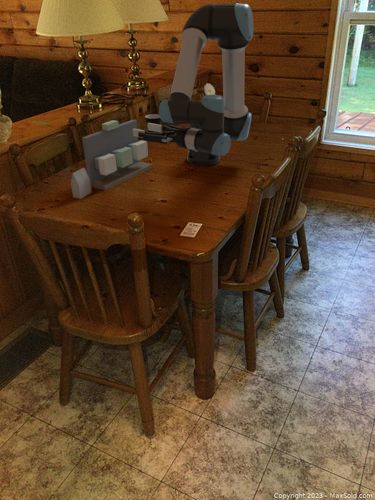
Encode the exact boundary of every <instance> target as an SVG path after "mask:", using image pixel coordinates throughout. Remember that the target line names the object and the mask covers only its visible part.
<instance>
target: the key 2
mask: <svg viewBox="0 0 375 500" xmlns="http://www.w3.org/2000/svg"><path fill="white" fill-rule="evenodd" d="M127 147H130V148H132V155H133V159H134V160H140V161H141V160H142V159H145V158H147V157H149V151H148V148H149V147H148V141H144V139H143V140H138V142H136V143H135V142H131V143H129V144H127Z"/></svg>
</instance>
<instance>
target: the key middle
mask: <svg viewBox="0 0 375 500" xmlns="http://www.w3.org/2000/svg"><path fill="white" fill-rule="evenodd" d="M111 154H114V155H115V157H116V162H117V166H118V167H122V168H123V167H125V166H128V165H130V164H132V163H133V156H132V148H130V147H124V148H122V149H118V148H117V149H114V150H112V151H111Z"/></svg>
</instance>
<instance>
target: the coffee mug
mask: <svg viewBox="0 0 375 500" xmlns="http://www.w3.org/2000/svg"><path fill="white" fill-rule="evenodd" d="M144 117H145V123H146V130H147V132H155V131H150V130H148V123H153V124H158V125H162V120H161V118H160V115H159V114H156V113H154V114H147V115H145V116H144ZM159 133H160V132H159Z"/></svg>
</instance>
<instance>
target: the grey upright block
mask: <svg viewBox="0 0 375 500" xmlns="http://www.w3.org/2000/svg"><path fill="white" fill-rule="evenodd" d="M71 175H72V176H71V181H70V187H71V192H72V198H75V199H80V200H81V199H83V198H85V197H86V196H89V195H90V194H91V193H92V187H91V185H90V178H89V176H88V174H87V169H86V168H85V167H82V168H80V169H78V170H76V171H74V172H73V173H72V174H71Z"/></svg>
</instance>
